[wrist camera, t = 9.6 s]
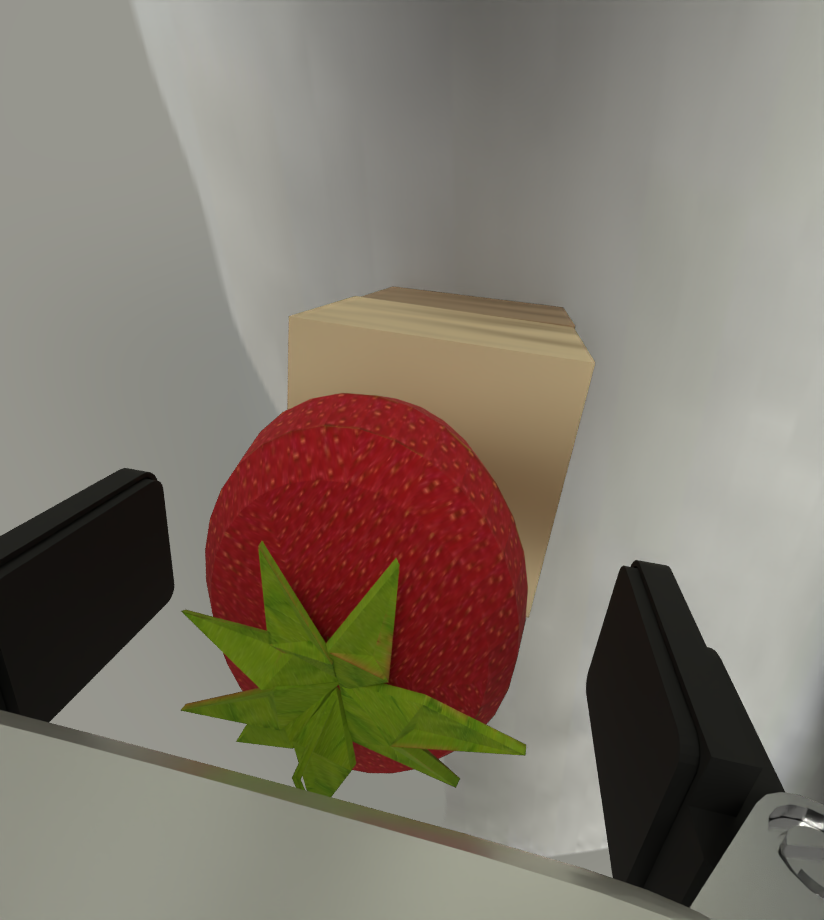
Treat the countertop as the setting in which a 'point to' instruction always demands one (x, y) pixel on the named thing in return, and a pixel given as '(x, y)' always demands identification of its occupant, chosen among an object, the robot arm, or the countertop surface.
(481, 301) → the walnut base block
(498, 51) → the countertop surface
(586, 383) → the oak top block
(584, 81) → the countertop surface
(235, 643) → the strawberry
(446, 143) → the countertop surface
